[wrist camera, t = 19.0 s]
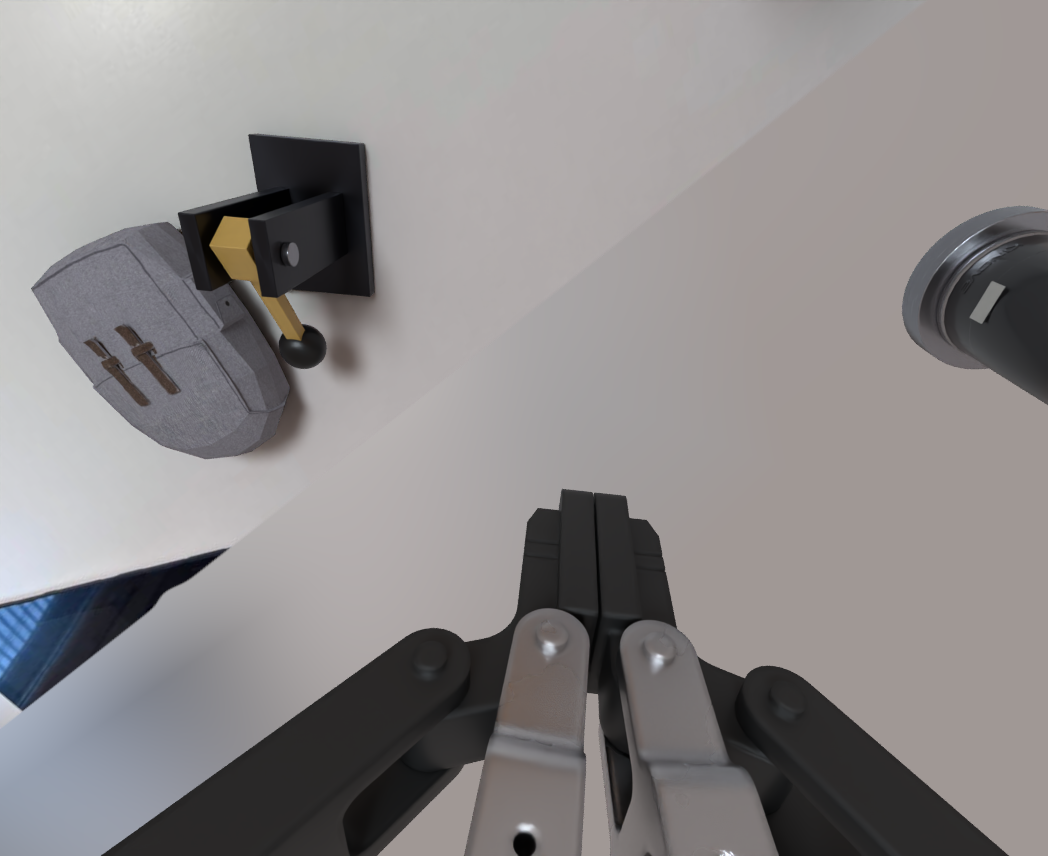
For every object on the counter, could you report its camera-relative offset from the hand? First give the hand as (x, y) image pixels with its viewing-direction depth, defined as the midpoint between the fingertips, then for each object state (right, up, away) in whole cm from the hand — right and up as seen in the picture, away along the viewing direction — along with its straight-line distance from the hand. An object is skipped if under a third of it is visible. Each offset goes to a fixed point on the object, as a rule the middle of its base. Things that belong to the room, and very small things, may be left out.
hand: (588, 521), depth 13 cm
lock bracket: (-17, +19, +29) cm, 39 cm away
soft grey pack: (-30, +10, +36) cm, 48 cm away
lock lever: (-18, +12, +25) cm, 33 cm away
